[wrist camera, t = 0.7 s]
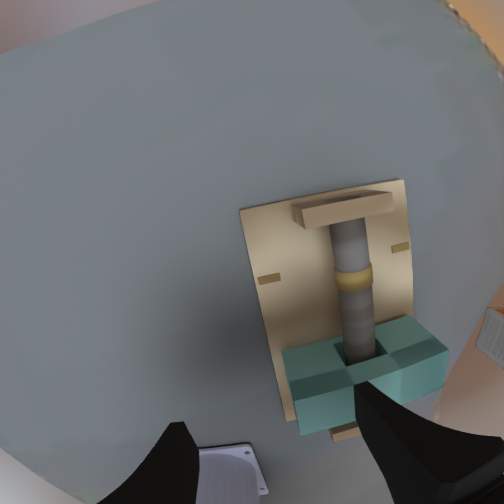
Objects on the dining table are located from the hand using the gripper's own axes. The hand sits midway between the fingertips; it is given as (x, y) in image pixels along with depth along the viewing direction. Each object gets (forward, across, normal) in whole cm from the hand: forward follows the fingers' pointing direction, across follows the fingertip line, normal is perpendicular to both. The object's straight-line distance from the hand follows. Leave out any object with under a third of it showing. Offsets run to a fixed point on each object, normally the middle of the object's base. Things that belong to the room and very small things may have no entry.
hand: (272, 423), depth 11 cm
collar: (+8, -6, +3) cm, 11 cm away
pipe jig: (+10, -6, +1) cm, 12 cm away
